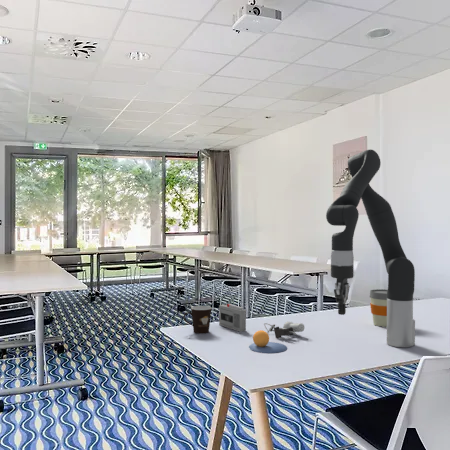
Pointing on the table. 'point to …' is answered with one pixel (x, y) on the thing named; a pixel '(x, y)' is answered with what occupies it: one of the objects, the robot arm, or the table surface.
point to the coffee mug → (200, 318)
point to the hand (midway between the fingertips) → (341, 314)
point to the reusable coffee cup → (379, 306)
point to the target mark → (269, 348)
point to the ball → (261, 338)
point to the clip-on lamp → (286, 329)
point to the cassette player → (232, 317)
